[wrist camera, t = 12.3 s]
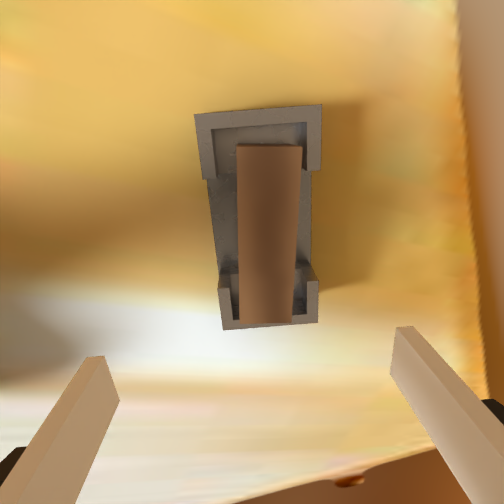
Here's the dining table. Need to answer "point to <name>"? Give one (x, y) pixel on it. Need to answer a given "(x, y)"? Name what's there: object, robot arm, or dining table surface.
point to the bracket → (225, 196)
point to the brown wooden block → (267, 230)
